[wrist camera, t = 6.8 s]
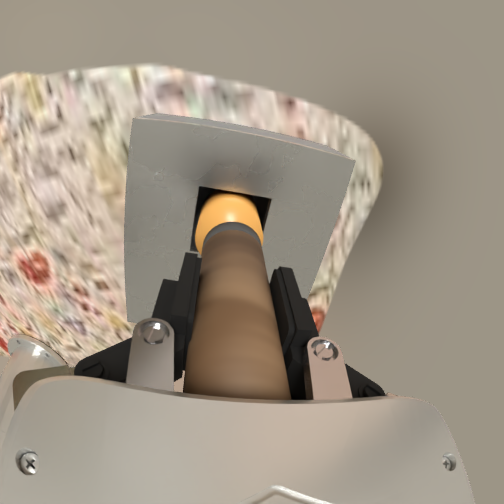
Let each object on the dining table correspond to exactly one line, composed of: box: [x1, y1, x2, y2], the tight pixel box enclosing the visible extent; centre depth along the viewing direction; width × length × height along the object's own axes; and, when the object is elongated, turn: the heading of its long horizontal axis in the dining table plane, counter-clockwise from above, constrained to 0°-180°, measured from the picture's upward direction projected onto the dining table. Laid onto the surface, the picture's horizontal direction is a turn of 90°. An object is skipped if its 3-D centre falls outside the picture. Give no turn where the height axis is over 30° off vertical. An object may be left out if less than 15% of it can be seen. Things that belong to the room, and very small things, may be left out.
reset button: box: [195, 189, 263, 255], centre depth 19 cm, size 4×4×4 cm
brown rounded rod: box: [183, 222, 291, 400], centre depth 11 cm, size 3×3×12 cm
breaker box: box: [124, 114, 355, 323], centre depth 22 cm, size 16×14×6 cm
